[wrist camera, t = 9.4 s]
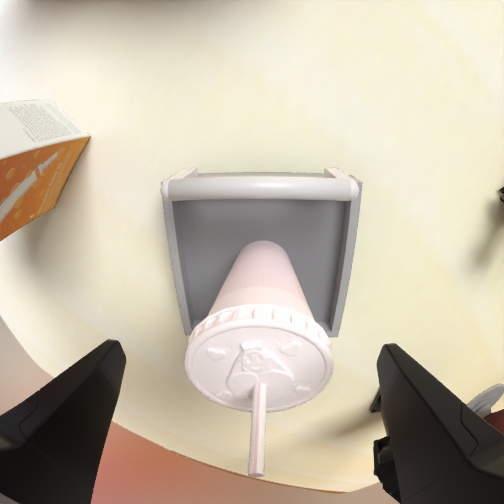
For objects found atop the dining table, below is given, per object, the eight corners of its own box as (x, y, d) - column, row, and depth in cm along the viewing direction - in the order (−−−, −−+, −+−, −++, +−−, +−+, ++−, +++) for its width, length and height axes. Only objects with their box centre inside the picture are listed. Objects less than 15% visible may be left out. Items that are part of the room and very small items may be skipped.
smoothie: (226, 306, 21) (192, 487, 9) (207, 227, 19) (119, 420, 6) (311, 297, 21) (342, 483, 8) (305, 215, 18) (368, 417, 5)
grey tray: (330, 310, 24) (348, 378, 17) (194, 308, 25) (172, 375, 18) (347, 159, 18) (392, 184, 11) (176, 159, 19) (127, 185, 12)
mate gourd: (445, 432, 38) (467, 506, 20) (459, 402, 33) (492, 492, 15) (500, 402, 35) (527, 467, 17) (520, 366, 30) (559, 441, 12)
